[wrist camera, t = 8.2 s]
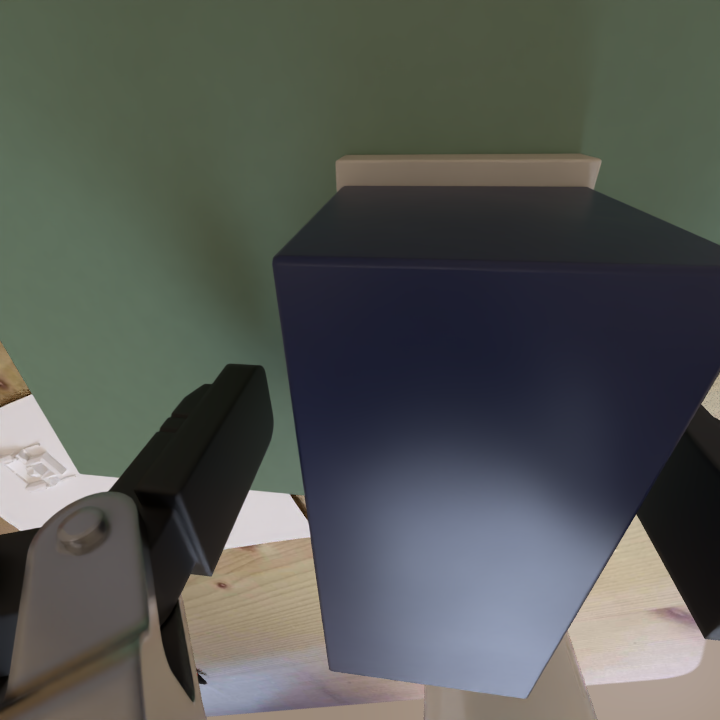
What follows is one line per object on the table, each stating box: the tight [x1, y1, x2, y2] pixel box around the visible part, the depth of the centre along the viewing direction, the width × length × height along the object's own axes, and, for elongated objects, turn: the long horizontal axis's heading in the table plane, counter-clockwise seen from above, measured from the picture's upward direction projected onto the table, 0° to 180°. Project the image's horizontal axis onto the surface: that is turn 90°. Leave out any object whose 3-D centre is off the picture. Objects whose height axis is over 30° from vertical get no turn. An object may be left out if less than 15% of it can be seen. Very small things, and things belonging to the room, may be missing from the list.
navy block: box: [272, 154, 720, 699], centre depth 8 cm, size 10×4×5 cm, turn 1°
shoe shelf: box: [0, 0, 720, 495], centre depth 13 cm, size 13×18×7 cm
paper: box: [0, 394, 310, 549], centre depth 26 cm, size 25×17×1 cm
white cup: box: [424, 630, 597, 720], centre depth 21 cm, size 8×8×10 cm
